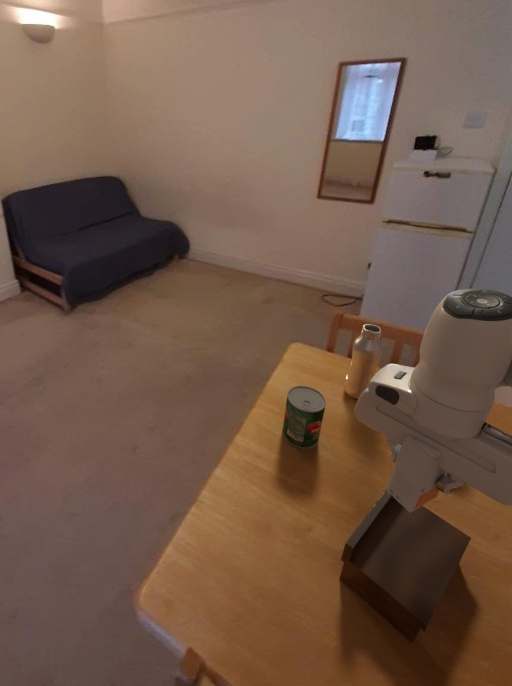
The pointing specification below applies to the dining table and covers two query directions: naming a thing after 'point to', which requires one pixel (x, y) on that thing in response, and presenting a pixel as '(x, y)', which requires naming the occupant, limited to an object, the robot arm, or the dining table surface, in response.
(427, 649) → the dining table surface
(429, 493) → the cosmetic box
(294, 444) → the canned tomato
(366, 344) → the plastic bottle
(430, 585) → the dark brown plinth
